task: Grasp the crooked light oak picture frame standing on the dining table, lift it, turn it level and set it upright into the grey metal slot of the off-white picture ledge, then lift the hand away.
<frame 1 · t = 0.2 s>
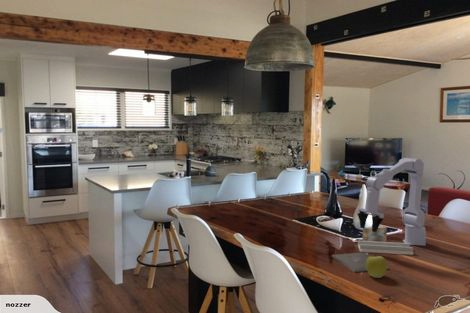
hand: (368, 229, 196), 10 cm above the table, tool pointing down, fingers open, 7 cm apart
picture ledge: (384, 250, 199), on the table
oak frame: (374, 242, 212), on the table
apple: (376, 276, 165), on the table
play button award: (359, 264, 181), on the table
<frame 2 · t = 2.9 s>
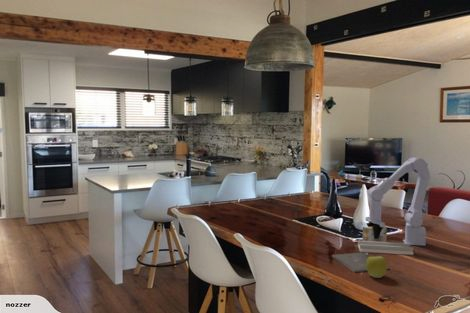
hand: (374, 237, 212), 2 cm above the table, tool pointing down, fingers closed on oak frame, 3 cm apart
oak frame: (374, 242, 212), on the table, touching gripper
everything else where it was.
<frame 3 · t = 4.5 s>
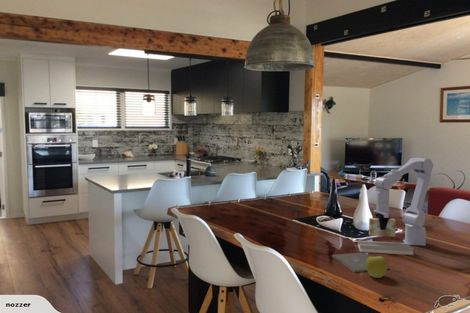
hand: (381, 228, 202), 9 cm above the table, tool pointing down, fingers closed on oak frame, 3 cm apart
oak frame: (381, 235, 202), point 6 cm above the table, touching gripper
everything else where it was.
when the fingers open (5 cm above the table, at t = 6.3 s): oak frame stays where it is, resting on picture ledge.
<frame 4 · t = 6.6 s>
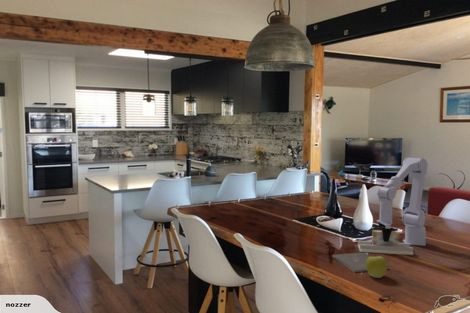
hand: (385, 239, 198), 5 cm above the table, tool pointing down, fingers open, 6 cm apart
oak frame: (385, 247, 199), point 1 cm above the table, touching picture ledge
everything else where it was.
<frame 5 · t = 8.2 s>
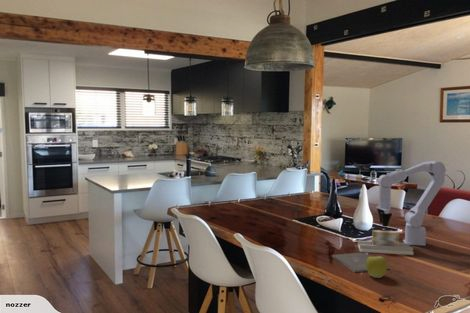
hand: (383, 224, 211), 9 cm above the table, tool pointing down, fingers open, 7 cm apart
nothing on the table moved.
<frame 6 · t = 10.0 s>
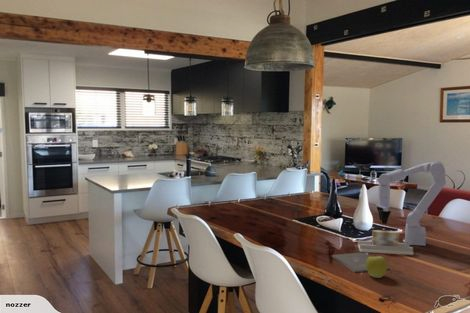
hand: (383, 222, 216), 9 cm above the table, tool pointing down, fingers open, 7 cm apart
nothing on the table moved.
at the end: oak frame inside the target area on the picture ledge (0.2 cm from its centre), point 1.2 cm above the picture ledge's base; oak frame tilted 0°; the gripper is holding nothing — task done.
